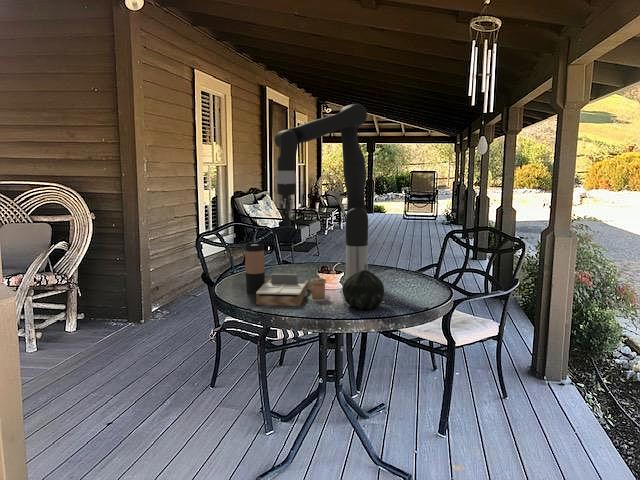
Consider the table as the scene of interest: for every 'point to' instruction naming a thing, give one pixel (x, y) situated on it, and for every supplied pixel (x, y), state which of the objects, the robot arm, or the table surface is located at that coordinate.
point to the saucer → (318, 299)
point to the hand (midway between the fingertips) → (287, 226)
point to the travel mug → (254, 266)
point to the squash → (363, 290)
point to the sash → (282, 285)
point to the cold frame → (282, 298)
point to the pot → (318, 288)
